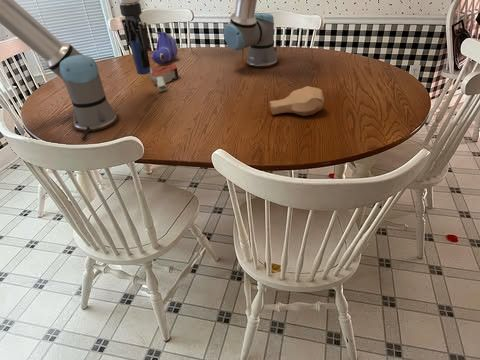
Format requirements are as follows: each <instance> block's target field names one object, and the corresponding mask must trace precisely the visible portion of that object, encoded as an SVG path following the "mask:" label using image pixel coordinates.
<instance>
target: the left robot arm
mask: <svg viewBox="0 0 480 360" xmlns="http://www.w3.org/2000/svg"><path fill="white" fill-rule="evenodd" d="M117 2H118V4H119V10H120V14H121V16H122V17H124V19H121V20H120V21H121V24H122V27H123V32H124V37H125V43H126V45H127V46H128V47H129V48H130V49H131V53H132V58H133V59H134V56H133V51H132V47H131V41H132V40H137V39H138V42H139V45H140V48H141V50H140V53H141V58H142V63H143V68H147V67H150V68H151V64H150V59H149V58H150V57H149V53H148V51H149V50H151V44H150V39H149V35H148V29H147V22H145V21H143V22H142V19H141V15H142V13H143V12H142V6H141V3H140V0H117ZM0 25H1V26H3V27H4V28H5V29H7V30H8V31H9V32H10V33H11V34H13V35H14V36H15V37H16V38H17V39H18V40H20V41H21V42H22V43H24V44H25V45H26V46H27V47H28V48H30V49H31V50H32V51H33V52H34V53H36V54H37V55H38V56H40V57H41V58H42V59H43V60H44V61H45V66H46V67H47V68H48V69H49V70H50V71H51V72H52V73H54V74H55V75H57V76H58V77H59V78H60V79H61V80H62V81H63V84H64V85H65V87H66V90H67V93H68V95H69V99H70V101H71V104H72V108H73V114H72V117H73V118H72V119H73V125H74V128H75V129H76V131H78V132H84V133H83V136H82V138H81V139H82V140H83V141H85V140H86V138H87V135H88V133H92V132H99V131H102V130H105V129H107V128H110V127H111V126H113V125H115V124H116V122H117V121H118V116H117V113H116V111H115V110H114V108H113V107H112V105H111V103H110V102H109V101H108V99H107V96H106V92H105V90H104V87H103V86H104V85H103V83H102V79H101V75H100V72H99V67H98V64H97V62H96V60H95V59H94V58H93V57H92V56H89V55H85V54H83V53H81V52H79V51H78V50H77V49H76V48H75V47H74V46H72V45H71V44H70V43H69V42H62V41H61V40H60V39H58V38H57V36H55V35H54V34H53V33H52V32H50V30H48V29H47V28H46V27H45V26H44V25H42V24H41V23H40V21H38V20H37V19H36V18H35V17H34V16H33V15H31V14H30V13H29V12H28V11H27V10H25V8H24V7H22V5H20V4H19V3H18V2H17V1H16V0H0ZM133 63H134V64H135V61H134V60H133Z"/></svg>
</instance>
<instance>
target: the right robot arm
mask: <svg viewBox="0 0 480 360" xmlns="http://www.w3.org/2000/svg"><path fill="white" fill-rule="evenodd" d="M257 2H258V0H236V1H235V9H234V12H233V13H231V15H230V19H229V23H227V24H226V25H225V26H224V27H223V33H222V34H223V39H224V41H225V43H226V45H227V47H228V48H229V49H231V50H233V51H242V50H245V49H246V48H249V49H248V54H247V57H246V65H247V66H248V67H250V68H255V69H263V68H270V67H274V66H276V65H277V64H278V56H277V52H276V47H275V45H274V44H275V41H274V40H275V37H274V36H275V21H274V20H275V19H274V15H272V14H271V13H267V12H256V9H257Z"/></svg>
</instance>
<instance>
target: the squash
mask: <svg viewBox="0 0 480 360" xmlns="http://www.w3.org/2000/svg"><path fill="white" fill-rule="evenodd" d="M324 102H325V96H324V92H323V90H322V89H321V88H319V87H313V86H309V85H306V86H304V87H301V88H298V89H294V90H293V91H291V92H290V93H289V95H288V96H287V97H285V98H282V99H277V100H270V101H269V103H268V106H269V109H270V113H271V114H272V115H273V116H274V115H277V114H278V115H279V114H283V113H291V114H292V113H293V114H296V115H299V116H303V117H306V116H313V115H315V114H317V113H318V112H320V111H321V110H322V109H323V105H324Z"/></svg>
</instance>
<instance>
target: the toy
mask: <svg viewBox="0 0 480 360" xmlns="http://www.w3.org/2000/svg"><path fill="white" fill-rule="evenodd" d="M155 34H156V35H159V36H158V38H157V42H156V50H151V51H152V53H151V56H150V59H151V60H152V61H153V62H154V63H155V64H158V67H162V64H165V63H167V62H170V61H173V60H174V58H175V57H177V55H178V45H177V41H176V40H175V39H174V37H173V36H172V35H168V34H167V32H165V31H162V32H161V31H157V32H155Z"/></svg>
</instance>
